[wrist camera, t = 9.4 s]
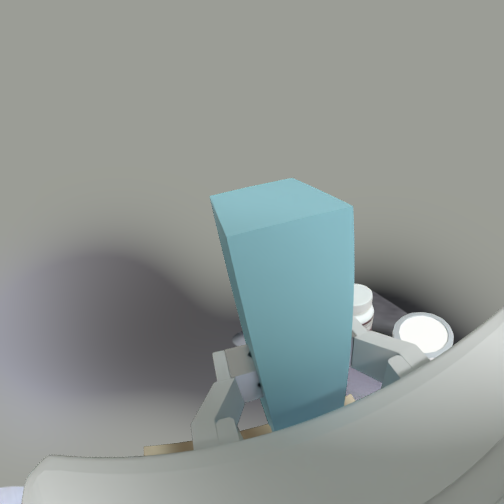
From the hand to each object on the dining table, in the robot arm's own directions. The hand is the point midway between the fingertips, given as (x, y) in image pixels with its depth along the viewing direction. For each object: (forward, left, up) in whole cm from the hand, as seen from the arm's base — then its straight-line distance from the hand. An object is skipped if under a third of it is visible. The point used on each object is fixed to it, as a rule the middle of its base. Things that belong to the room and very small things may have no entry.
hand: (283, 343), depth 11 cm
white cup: (+16, +5, -18) cm, 25 cm away
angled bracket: (0, -1, -10) cm, 10 cm away
